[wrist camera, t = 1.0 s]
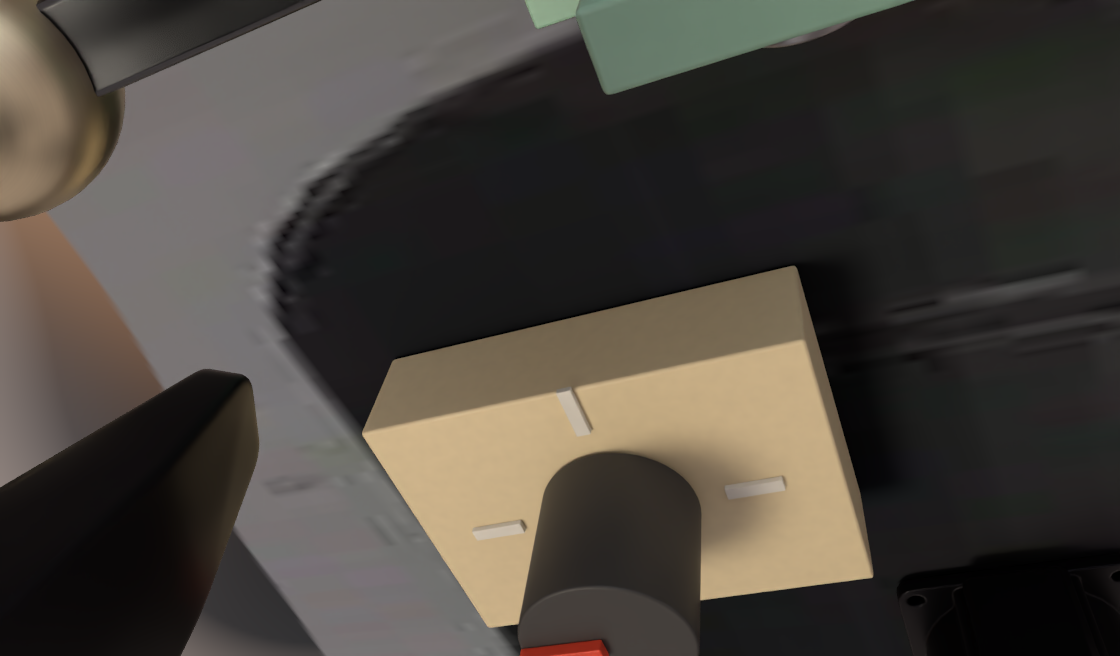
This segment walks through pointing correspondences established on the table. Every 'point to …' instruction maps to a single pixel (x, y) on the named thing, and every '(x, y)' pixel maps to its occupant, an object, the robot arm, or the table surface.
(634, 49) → the lever bracket
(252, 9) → the toaster lever
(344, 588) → the table surface
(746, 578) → the dial panel
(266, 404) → the table surface
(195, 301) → the table surface
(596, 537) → the dial
